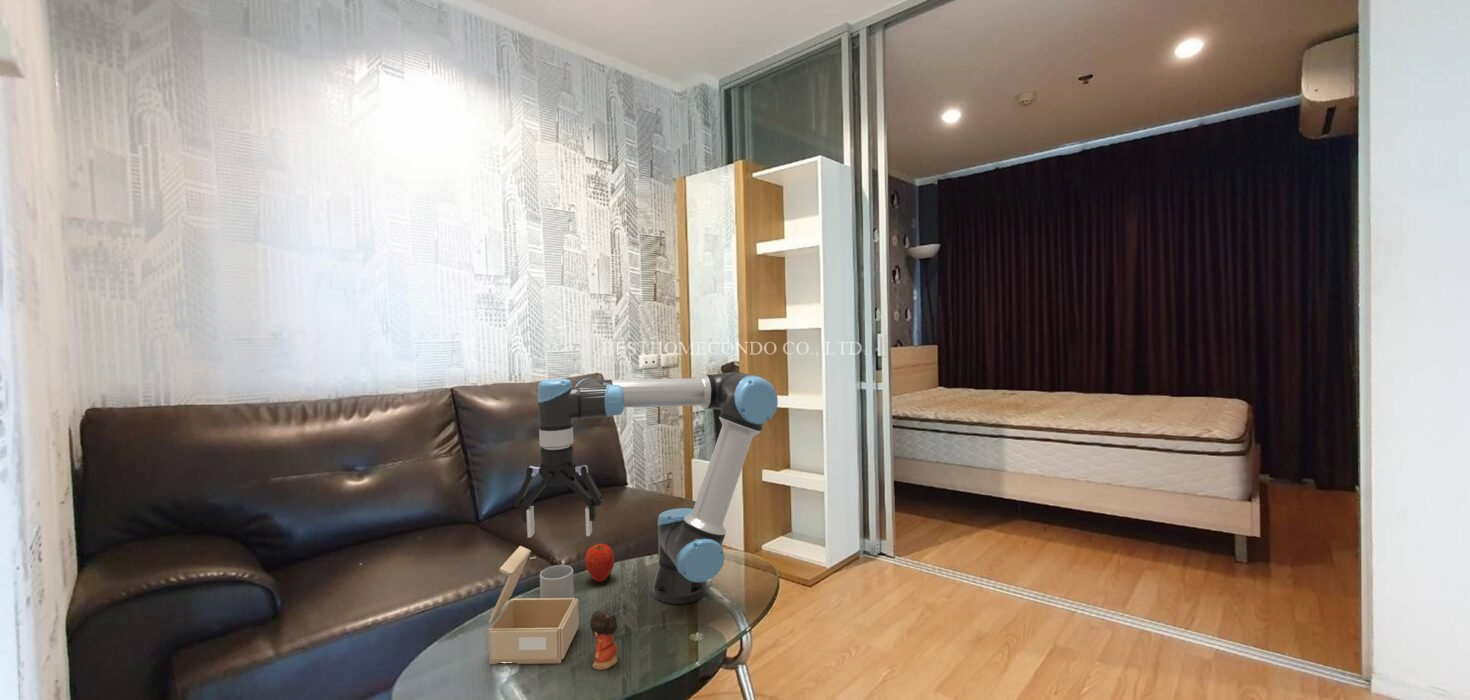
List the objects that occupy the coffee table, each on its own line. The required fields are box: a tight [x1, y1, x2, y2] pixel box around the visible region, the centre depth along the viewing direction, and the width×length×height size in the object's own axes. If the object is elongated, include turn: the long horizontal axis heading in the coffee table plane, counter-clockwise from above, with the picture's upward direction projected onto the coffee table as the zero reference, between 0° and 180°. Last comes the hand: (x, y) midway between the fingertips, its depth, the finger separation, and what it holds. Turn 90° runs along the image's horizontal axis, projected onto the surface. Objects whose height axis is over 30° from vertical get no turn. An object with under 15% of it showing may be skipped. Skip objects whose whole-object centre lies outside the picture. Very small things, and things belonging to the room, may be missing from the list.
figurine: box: [589, 610, 619, 670], centre depth 131 cm, size 6×6×12 cm
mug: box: [539, 564, 575, 598], centre depth 155 cm, size 12×8×11 cm
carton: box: [488, 597, 580, 665], centre depth 138 cm, size 16×15×8 cm
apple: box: [584, 543, 615, 583], centre depth 171 cm, size 9×8×11 cm
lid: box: [488, 545, 532, 624], centre depth 137 cm, size 12×13×3 cm
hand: (560, 534), depth 137 cm, fingers open, 13 cm apart
